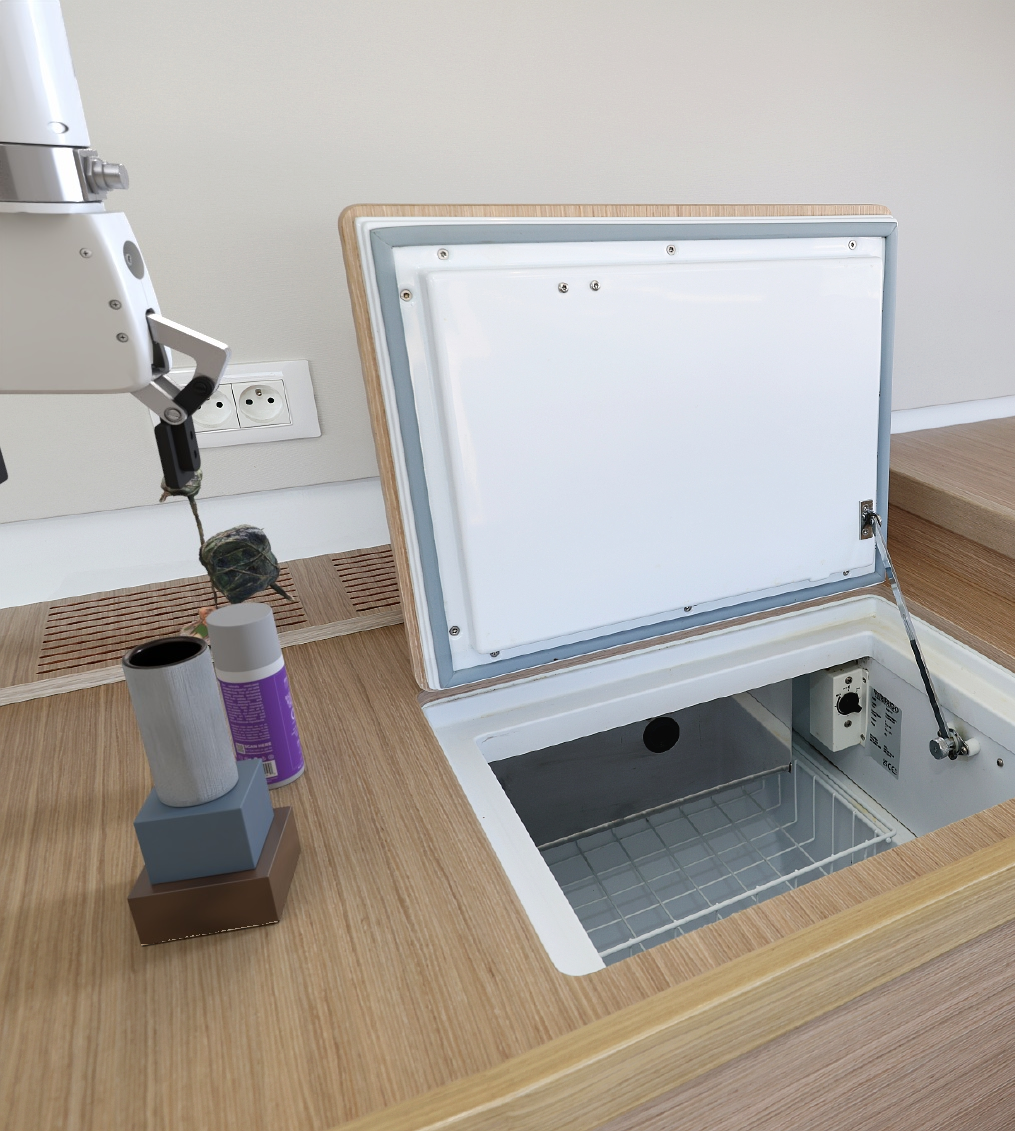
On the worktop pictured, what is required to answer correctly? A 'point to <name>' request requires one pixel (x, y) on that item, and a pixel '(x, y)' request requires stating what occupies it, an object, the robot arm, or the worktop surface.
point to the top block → (207, 830)
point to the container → (256, 690)
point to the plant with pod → (229, 561)
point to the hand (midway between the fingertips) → (88, 485)
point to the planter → (181, 719)
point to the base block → (220, 892)
